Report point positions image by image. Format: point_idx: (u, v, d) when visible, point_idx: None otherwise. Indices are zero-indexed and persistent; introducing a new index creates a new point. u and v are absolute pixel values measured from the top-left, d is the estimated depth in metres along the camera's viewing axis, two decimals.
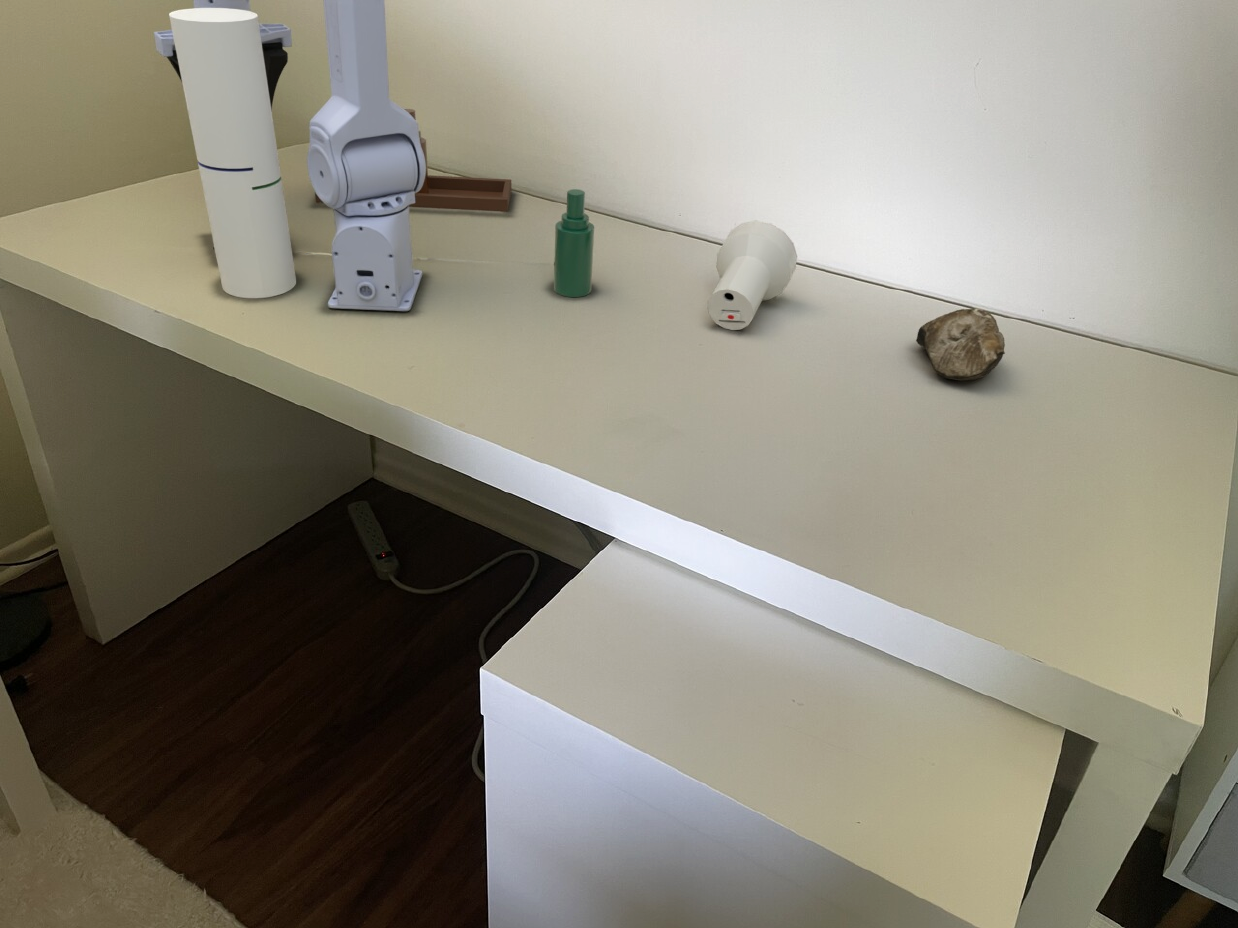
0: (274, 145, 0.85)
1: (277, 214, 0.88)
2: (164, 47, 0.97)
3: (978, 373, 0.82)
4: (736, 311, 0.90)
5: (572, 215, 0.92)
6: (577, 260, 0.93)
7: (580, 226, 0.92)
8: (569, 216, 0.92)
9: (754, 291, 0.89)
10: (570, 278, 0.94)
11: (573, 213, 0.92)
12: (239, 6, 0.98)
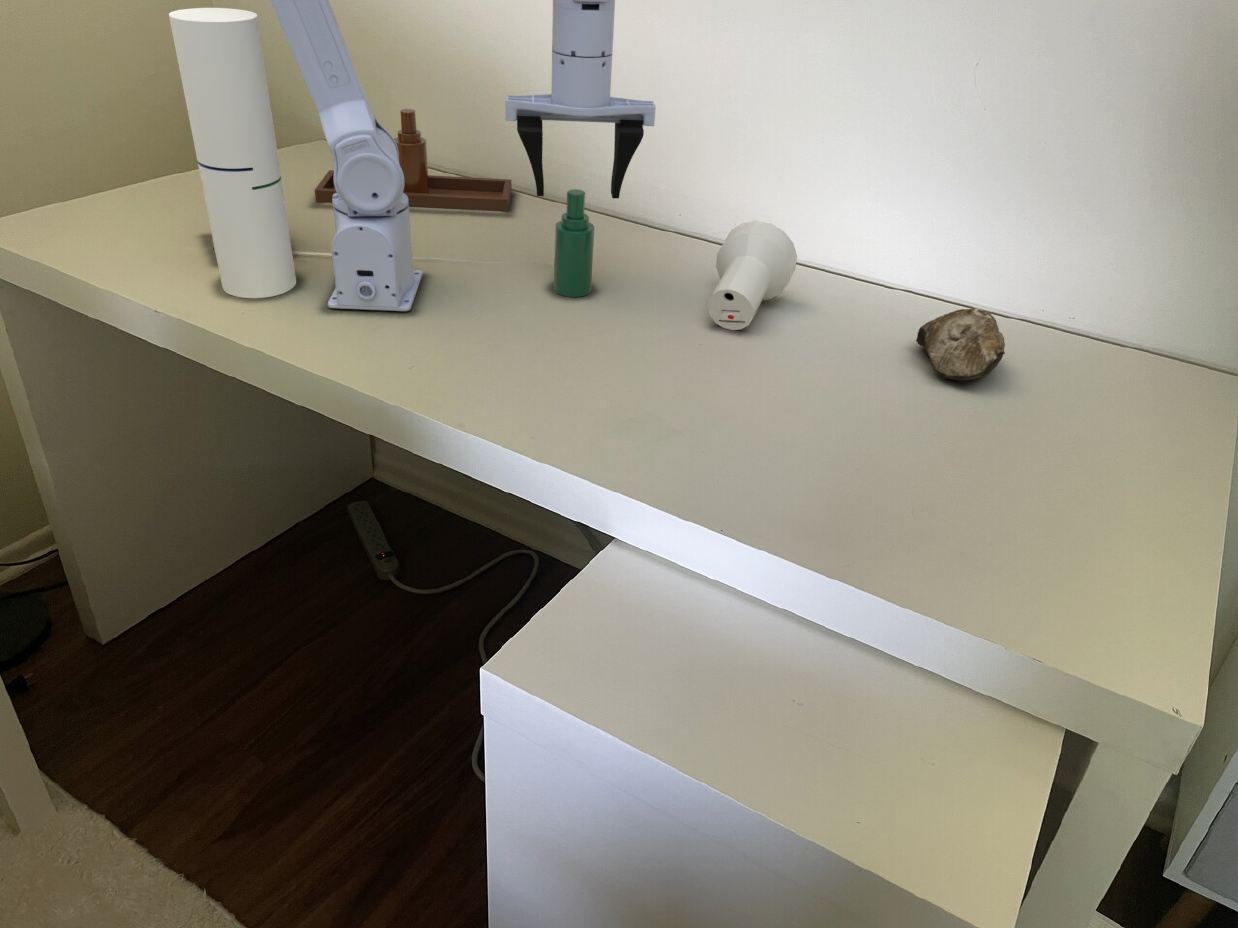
0: (274, 145, 0.85)
1: (277, 214, 0.88)
2: (507, 110, 0.88)
3: (978, 373, 0.82)
4: (736, 311, 0.90)
5: (572, 215, 0.92)
6: (577, 260, 0.93)
7: (580, 226, 0.92)
8: (569, 216, 0.92)
9: (754, 291, 0.89)
10: (570, 278, 0.94)
11: (573, 213, 0.92)
12: (591, 70, 0.84)
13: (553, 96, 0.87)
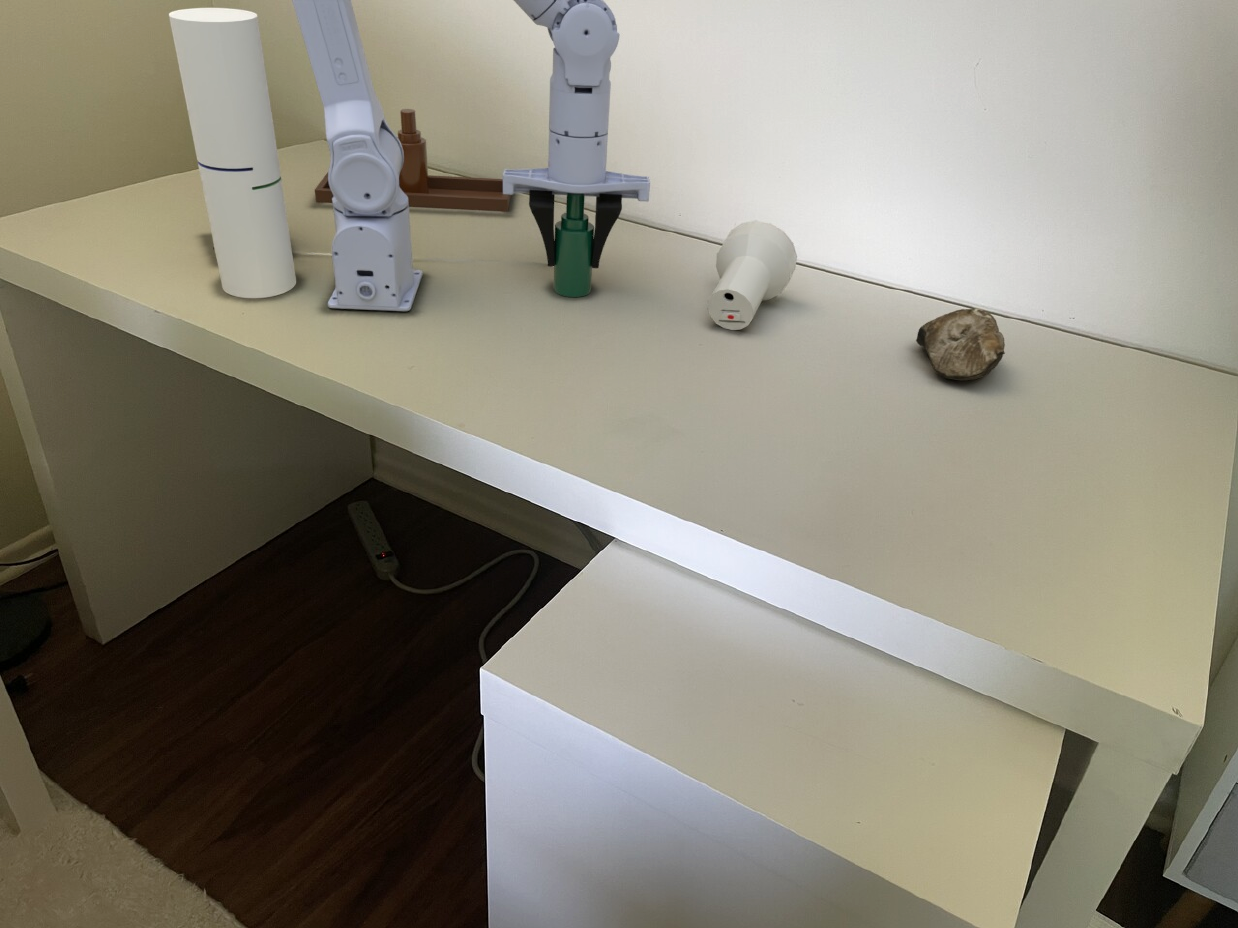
0: (274, 145, 0.85)
1: (277, 214, 0.88)
2: (505, 184, 0.89)
3: (978, 373, 0.82)
4: (736, 311, 0.90)
5: (572, 215, 0.92)
6: (577, 260, 0.93)
7: (580, 226, 0.92)
8: (569, 216, 0.92)
9: (754, 291, 0.89)
10: (570, 278, 0.94)
11: (573, 213, 0.92)
12: (586, 149, 0.86)
13: (549, 172, 0.89)
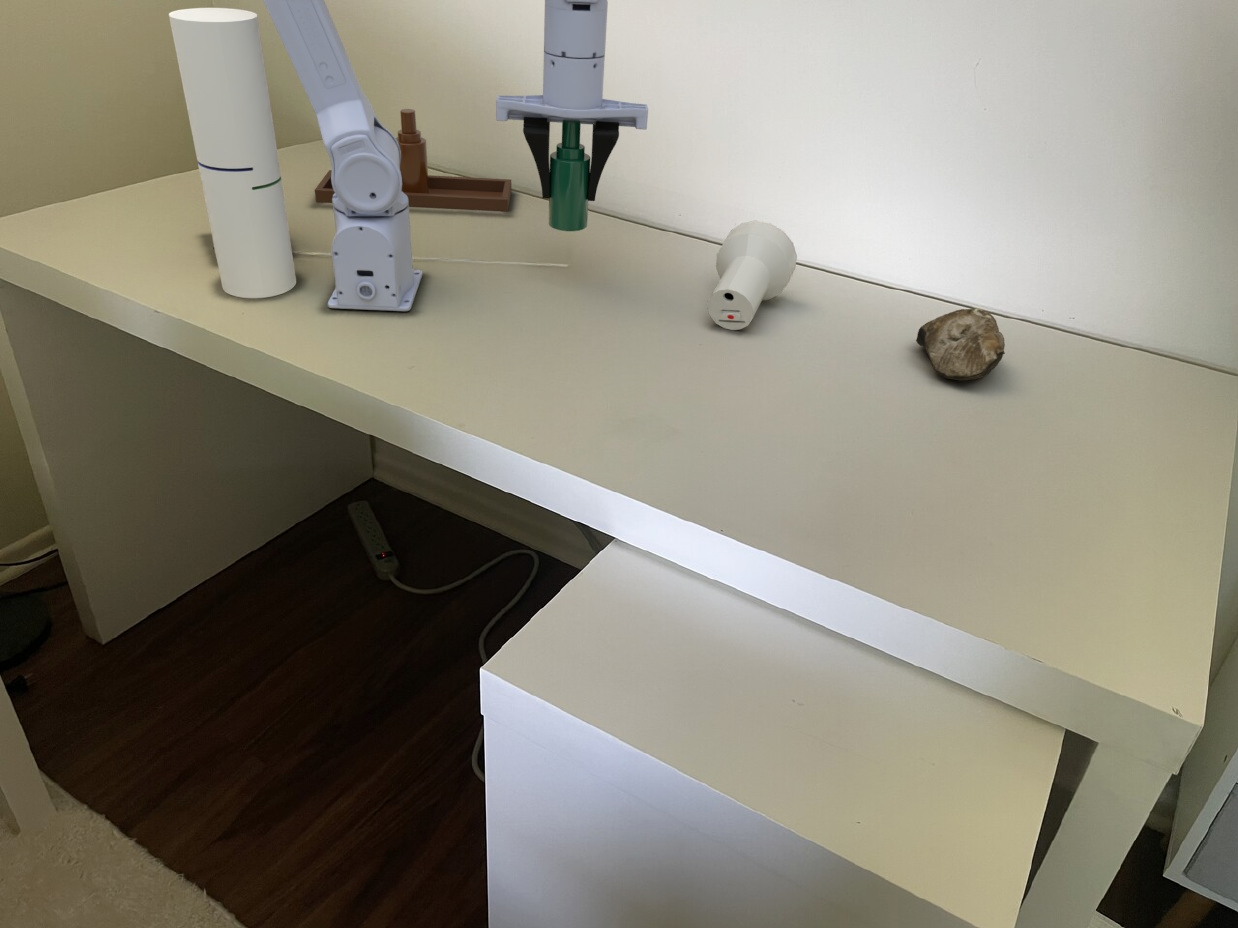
0: (274, 145, 0.85)
1: (277, 214, 0.88)
2: (498, 110, 0.87)
3: (978, 373, 0.82)
4: (736, 311, 0.90)
5: (567, 144, 0.89)
6: (572, 192, 0.90)
7: (575, 155, 0.89)
8: (564, 145, 0.89)
9: (754, 291, 0.89)
10: (565, 211, 0.91)
11: (568, 142, 0.89)
12: (581, 71, 0.83)
13: (544, 97, 0.86)
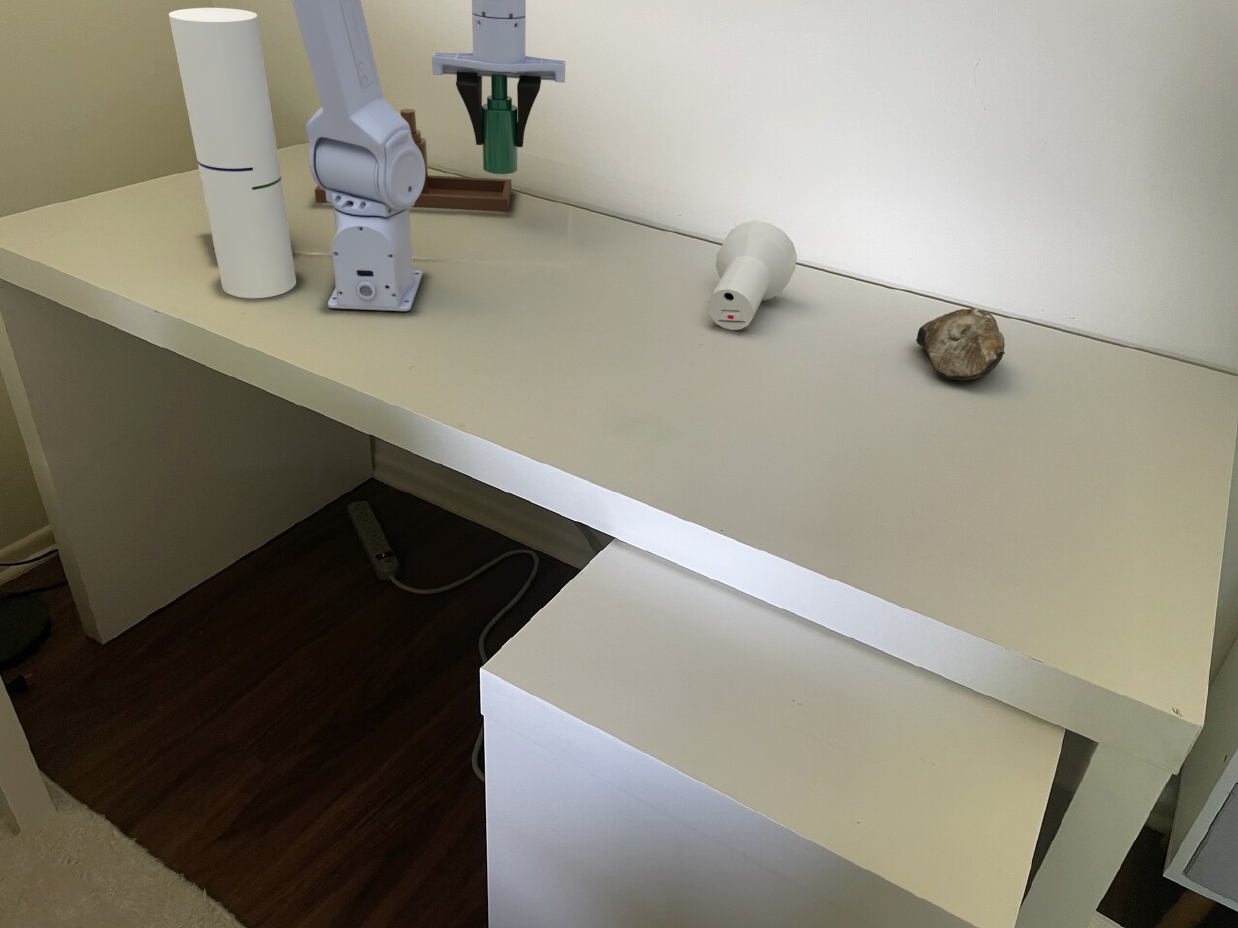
0: (274, 145, 0.85)
1: (277, 214, 0.88)
2: (434, 65, 0.99)
3: (978, 373, 0.82)
4: (736, 311, 0.90)
5: (496, 96, 1.02)
6: (502, 138, 1.03)
7: (503, 106, 1.02)
8: (493, 97, 1.02)
9: (754, 291, 0.89)
10: (496, 156, 1.04)
11: (497, 94, 1.01)
12: (504, 30, 0.96)
13: (473, 53, 0.99)
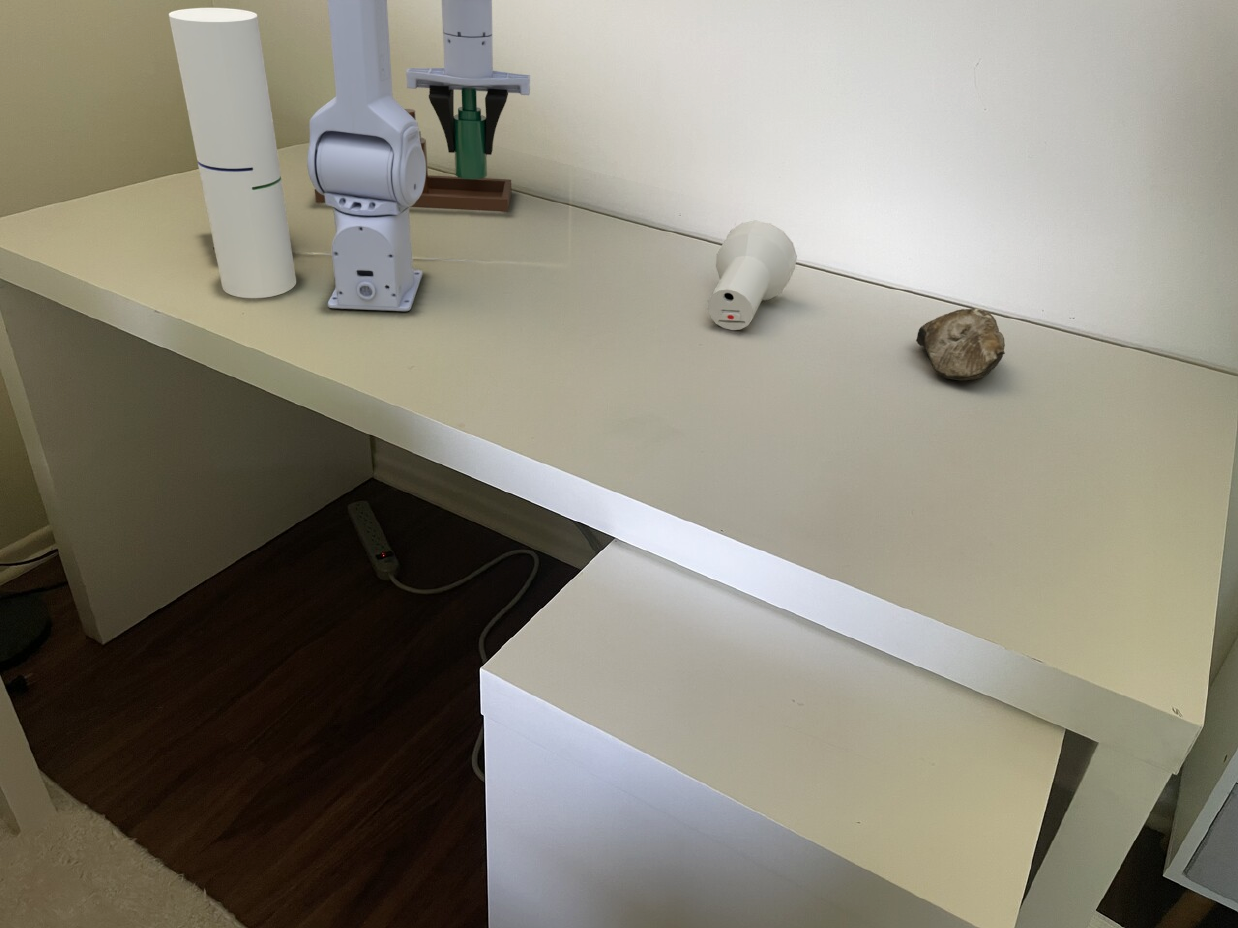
0: (274, 145, 0.85)
1: (277, 214, 0.88)
2: (408, 79, 1.08)
3: (978, 373, 0.82)
4: (736, 311, 0.90)
5: (466, 107, 1.10)
6: (472, 146, 1.12)
7: (473, 116, 1.10)
8: (464, 108, 1.10)
9: (754, 291, 0.89)
10: (467, 162, 1.13)
11: (467, 105, 1.10)
12: (472, 47, 1.05)
13: (445, 69, 1.07)
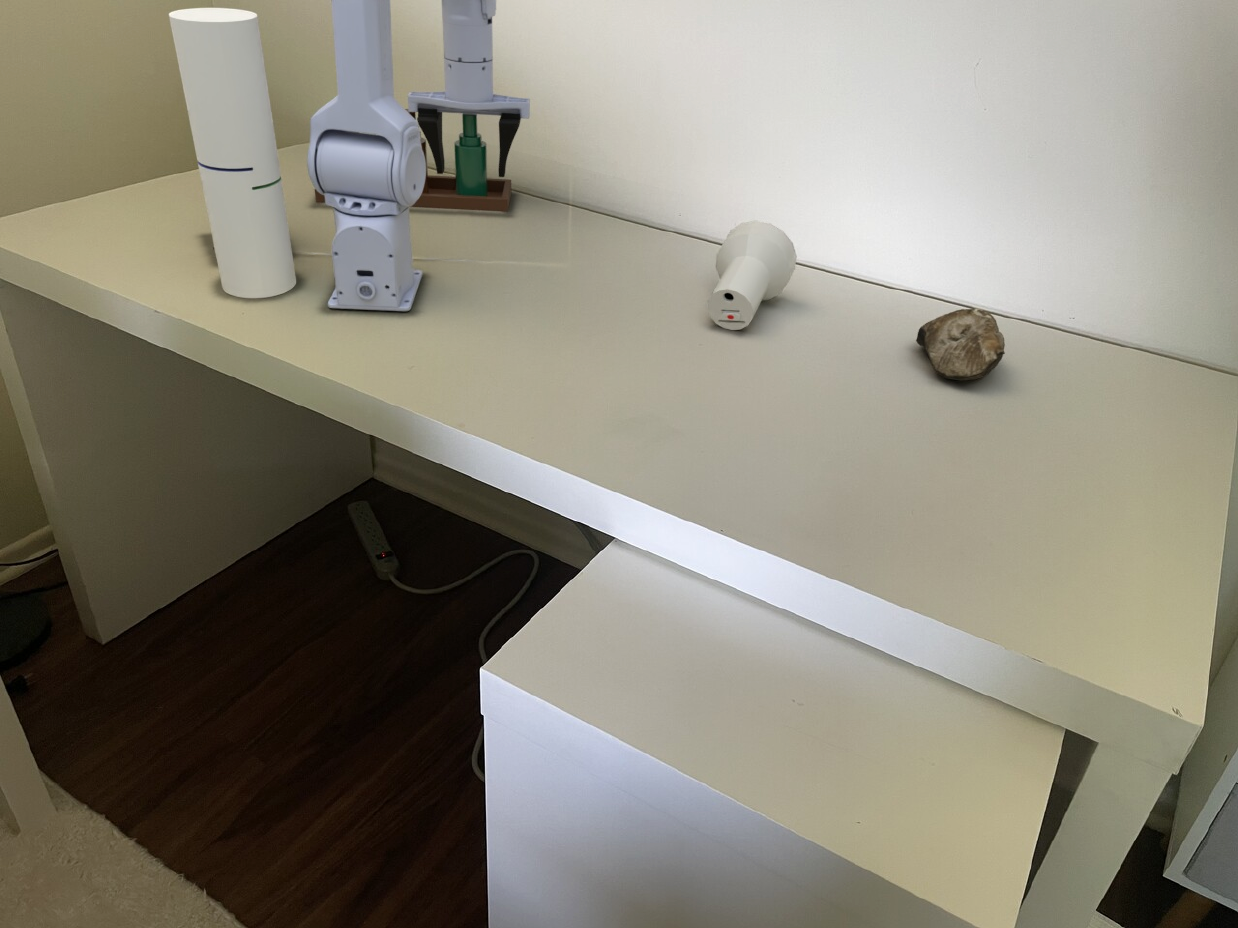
0: (274, 145, 0.85)
1: (277, 214, 0.88)
2: (410, 103, 1.09)
3: (978, 373, 0.82)
4: (736, 311, 0.90)
5: (466, 134, 1.12)
6: (472, 172, 1.13)
7: (473, 143, 1.12)
8: (464, 134, 1.12)
9: (754, 291, 0.89)
10: (467, 187, 1.14)
11: (467, 132, 1.12)
12: (472, 72, 1.06)
13: (446, 93, 1.09)
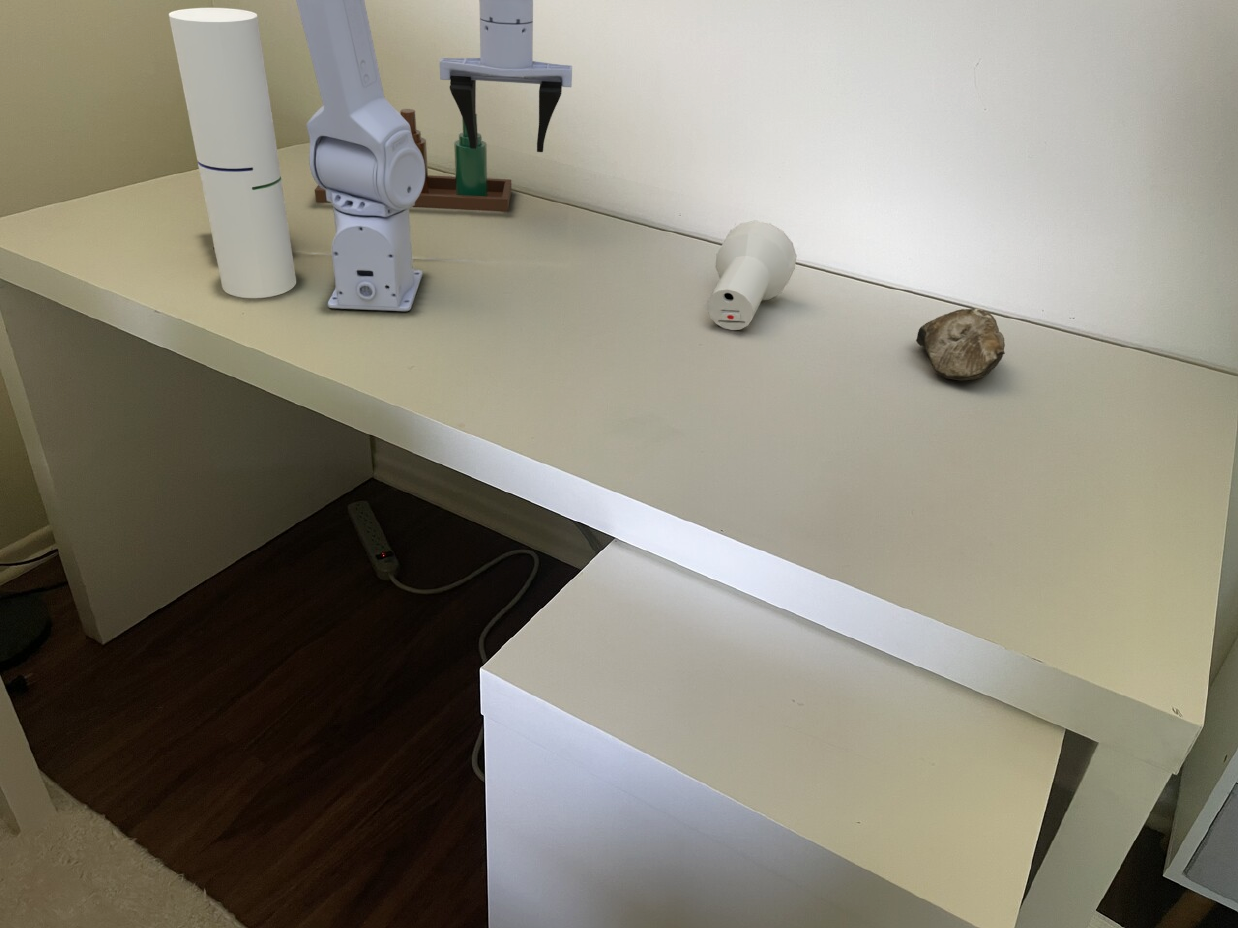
0: (274, 145, 0.85)
1: (277, 214, 0.88)
2: (441, 70, 1.00)
3: (978, 373, 0.82)
4: (736, 311, 0.90)
5: (466, 134, 1.12)
6: (472, 172, 1.13)
7: None
8: (464, 134, 1.12)
9: (754, 291, 0.89)
10: (467, 187, 1.14)
11: None
12: (511, 35, 0.97)
13: (481, 58, 1.00)
